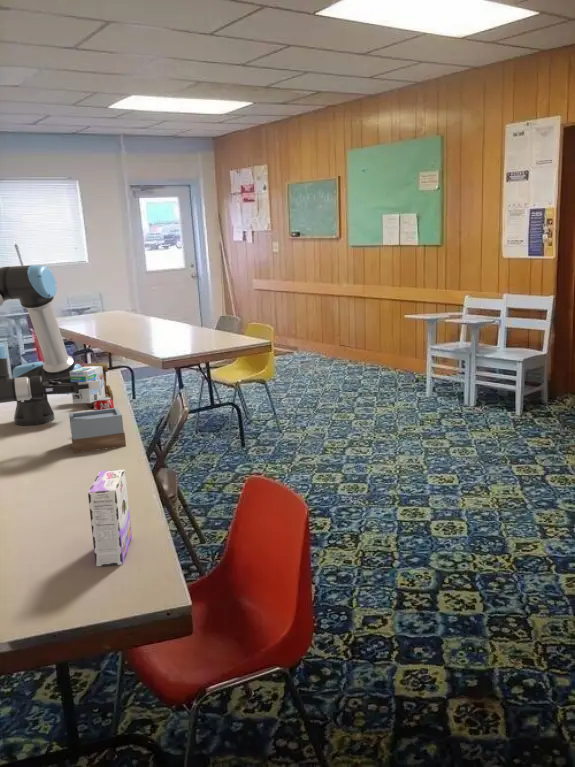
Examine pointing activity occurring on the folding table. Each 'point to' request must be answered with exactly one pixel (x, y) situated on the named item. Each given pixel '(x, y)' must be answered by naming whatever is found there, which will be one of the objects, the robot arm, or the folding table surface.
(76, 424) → the tower top block
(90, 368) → the light bulb box
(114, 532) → the candy box
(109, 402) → the soda can
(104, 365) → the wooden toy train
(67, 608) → the folding table surface
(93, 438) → the tower base block
